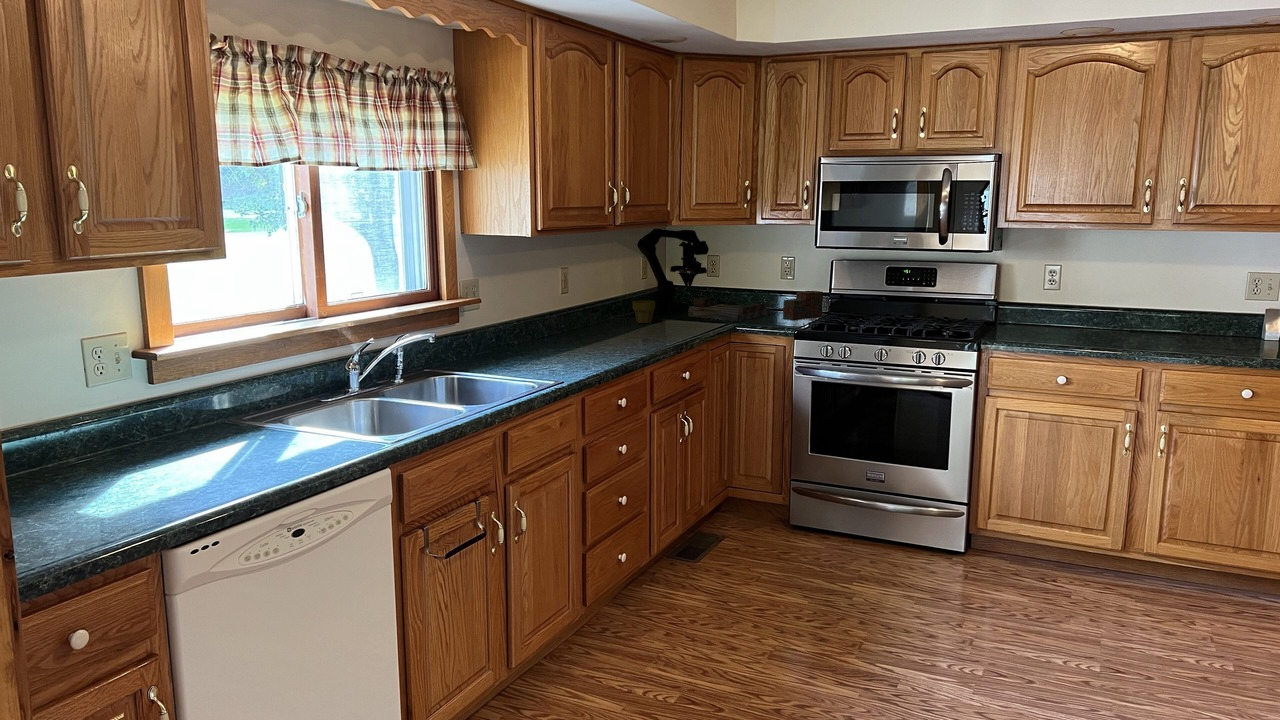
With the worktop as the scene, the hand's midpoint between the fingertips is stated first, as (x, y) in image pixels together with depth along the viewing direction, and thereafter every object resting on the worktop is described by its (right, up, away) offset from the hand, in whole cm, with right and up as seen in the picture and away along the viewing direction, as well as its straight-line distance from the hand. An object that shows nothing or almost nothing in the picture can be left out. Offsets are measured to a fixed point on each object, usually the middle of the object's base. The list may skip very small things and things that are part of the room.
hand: (688, 287), depth 452 cm
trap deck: (+16, -14, -10) cm, 24 cm away
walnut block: (+7, -10, -4) cm, 12 cm away
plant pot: (-22, -19, -36) cm, 46 cm away
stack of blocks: (+53, -17, -20) cm, 59 cm away
